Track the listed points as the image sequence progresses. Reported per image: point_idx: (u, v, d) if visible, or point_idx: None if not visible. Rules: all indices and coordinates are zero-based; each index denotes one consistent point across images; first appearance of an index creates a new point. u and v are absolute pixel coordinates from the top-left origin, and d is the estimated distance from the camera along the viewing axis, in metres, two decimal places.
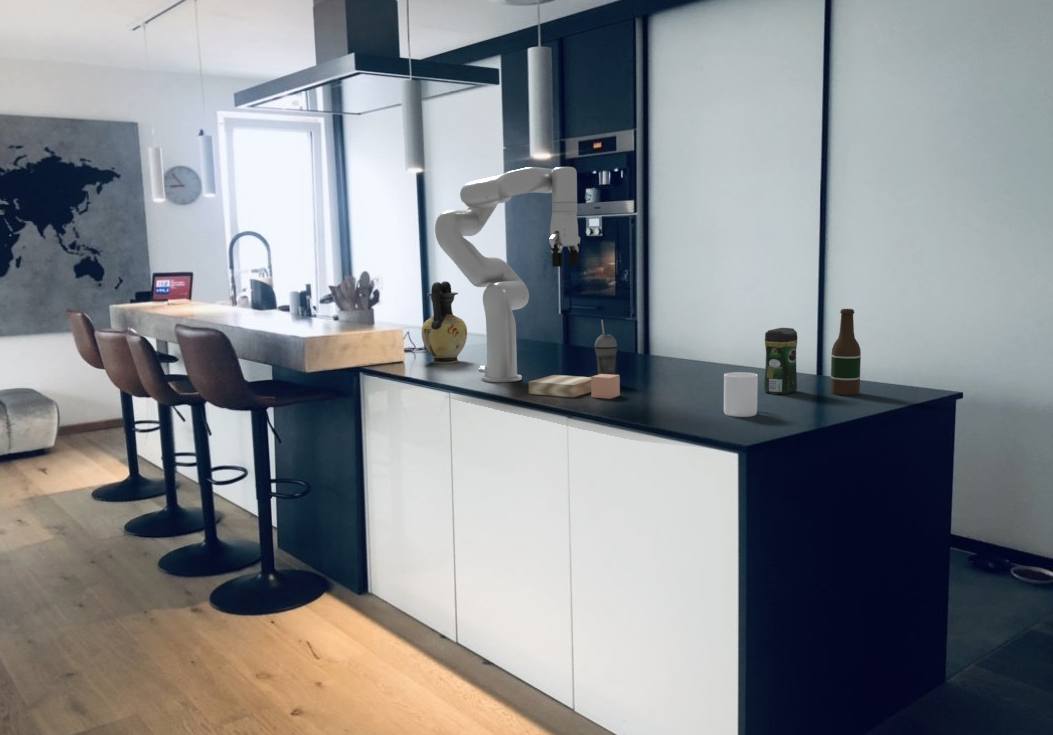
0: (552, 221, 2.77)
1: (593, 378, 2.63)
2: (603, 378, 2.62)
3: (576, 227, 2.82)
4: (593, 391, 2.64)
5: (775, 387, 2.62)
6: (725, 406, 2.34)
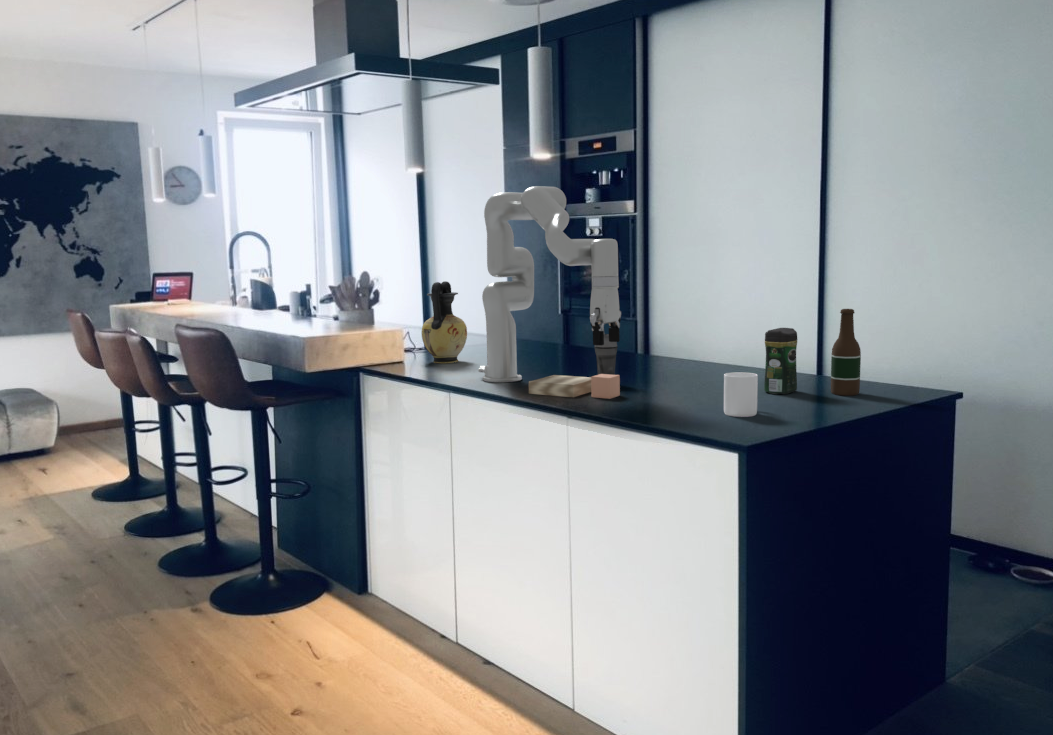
0: (592, 297, 2.58)
1: (593, 378, 2.63)
2: (603, 378, 2.62)
3: (618, 301, 2.63)
4: (593, 391, 2.64)
5: (775, 387, 2.62)
6: (725, 406, 2.34)
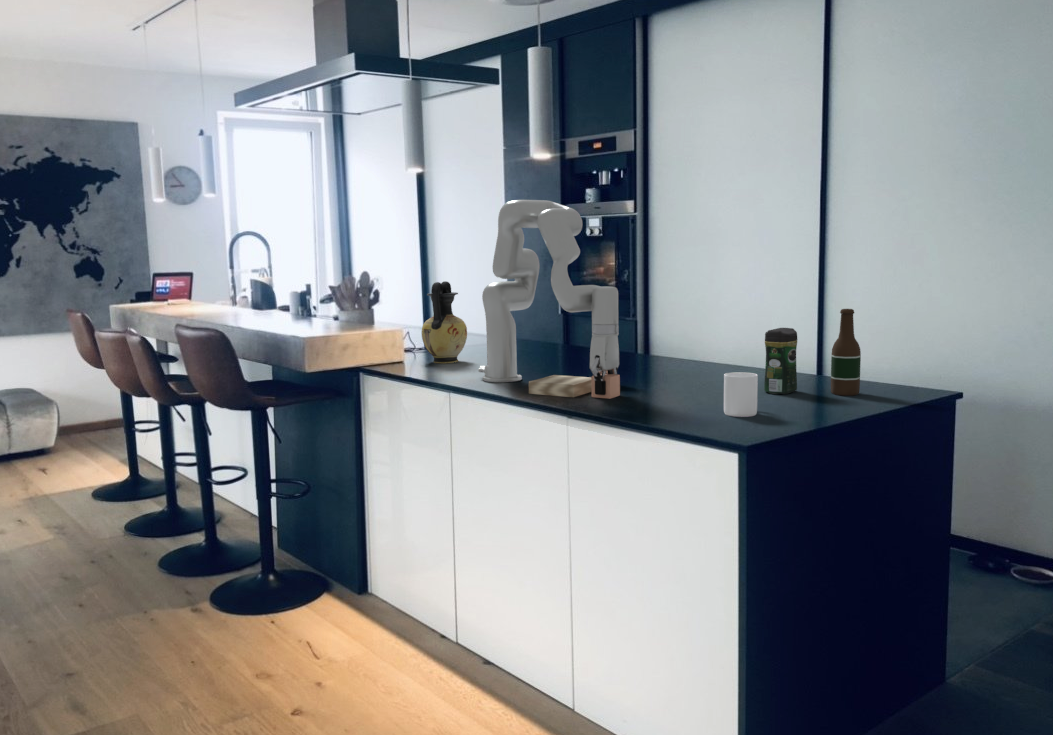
0: (592, 344, 2.60)
1: (593, 378, 2.63)
2: None
3: (617, 348, 2.65)
4: (593, 391, 2.64)
5: (775, 387, 2.62)
6: (725, 406, 2.34)
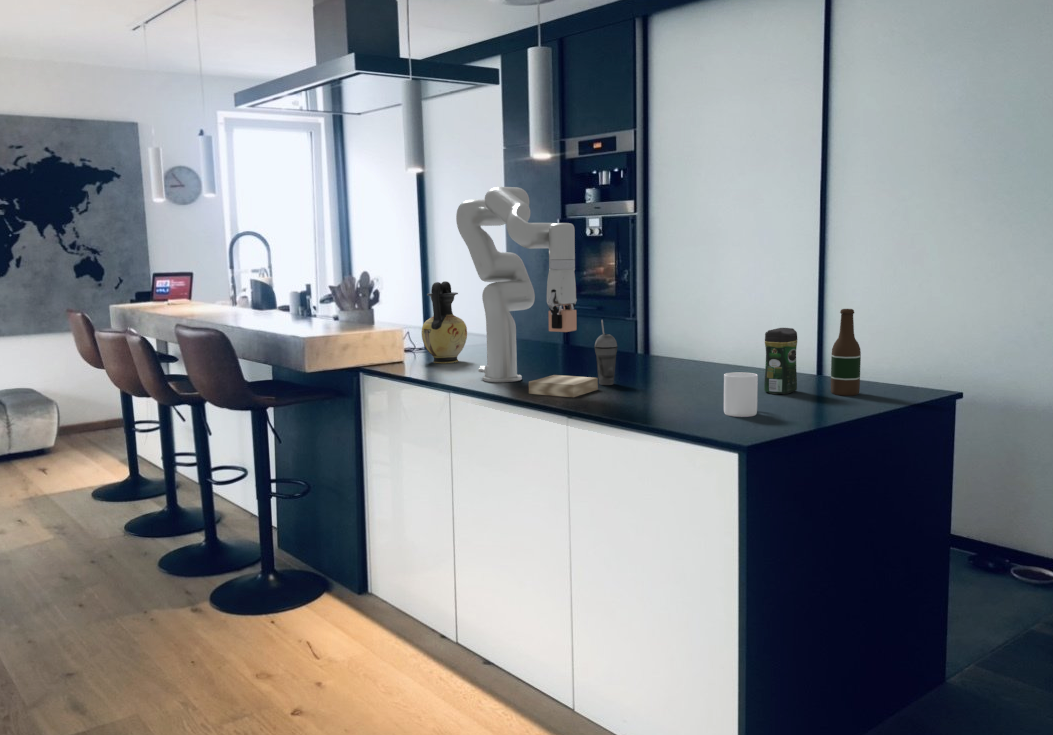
0: (549, 279, 2.67)
1: (550, 312, 2.70)
2: None
3: (574, 284, 2.72)
4: (550, 325, 2.71)
5: (775, 387, 2.62)
6: (725, 406, 2.34)
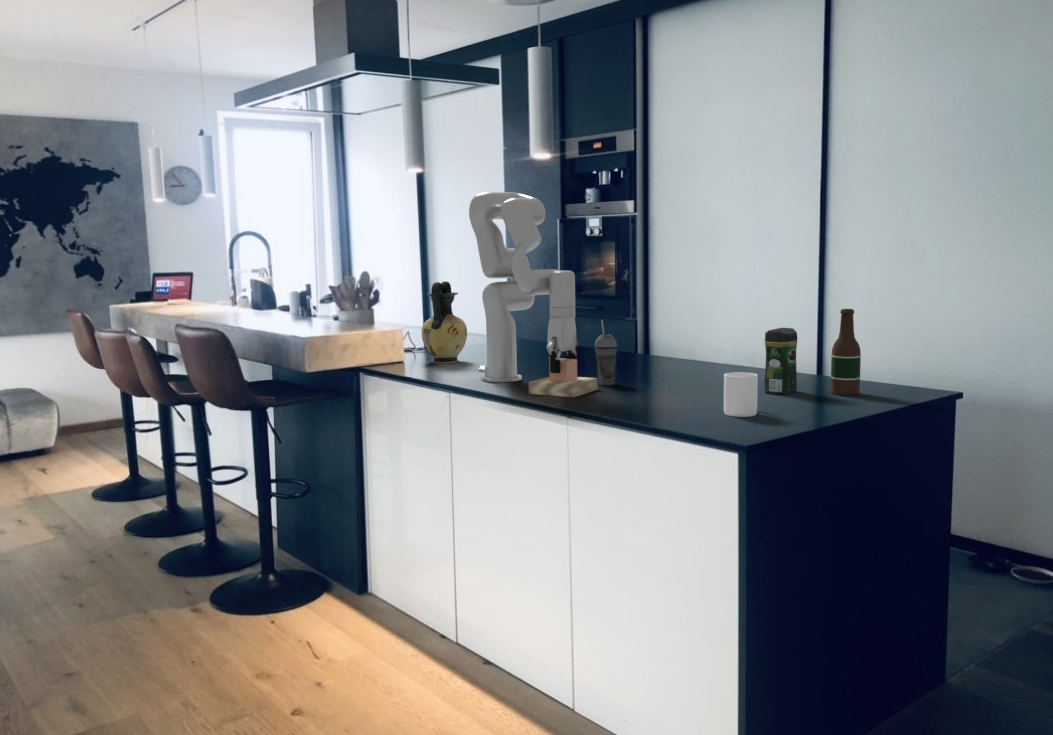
0: (549, 326, 2.69)
1: None
2: (560, 362, 2.71)
3: (574, 330, 2.74)
4: (551, 375, 2.73)
5: (775, 387, 2.62)
6: (725, 406, 2.34)
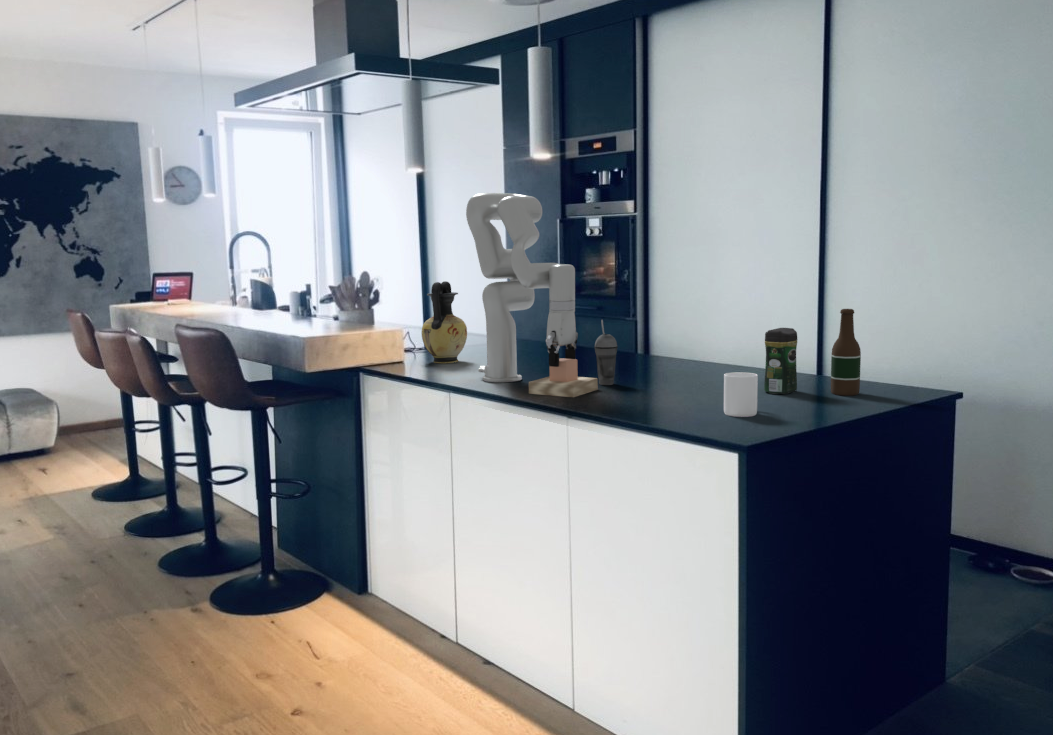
0: (549, 320, 2.69)
1: None
2: (560, 362, 2.71)
3: (574, 324, 2.74)
4: (551, 375, 2.73)
5: (775, 387, 2.62)
6: (725, 406, 2.34)
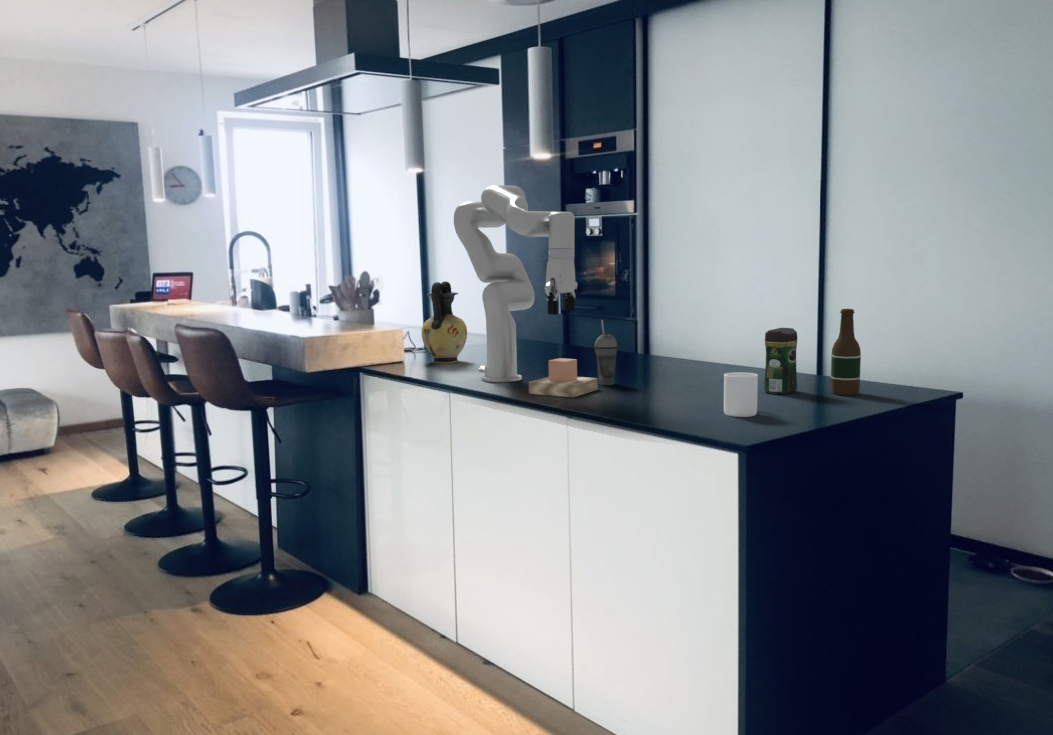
0: (548, 267, 2.68)
1: (550, 362, 2.73)
2: (559, 362, 2.71)
3: (573, 273, 2.73)
4: (550, 375, 2.73)
5: (775, 387, 2.62)
6: (725, 406, 2.34)
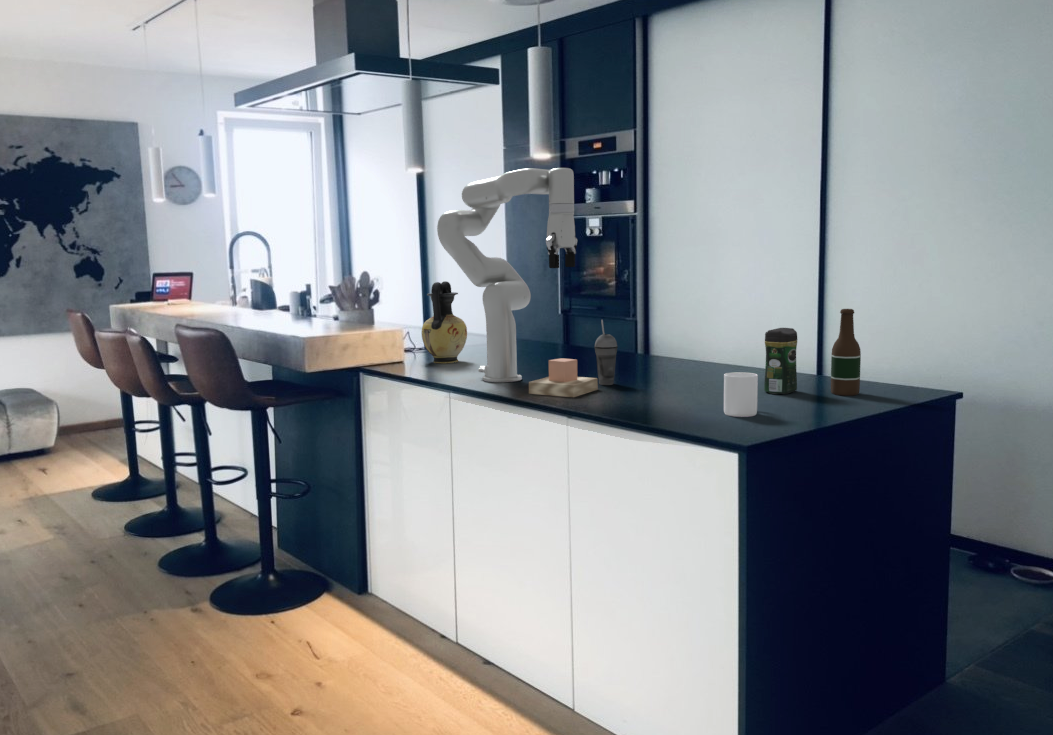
0: (549, 222, 2.75)
1: (550, 362, 2.73)
2: (558, 362, 2.71)
3: (573, 228, 2.80)
4: (550, 374, 2.74)
5: (775, 387, 2.62)
6: (725, 406, 2.34)
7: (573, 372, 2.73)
